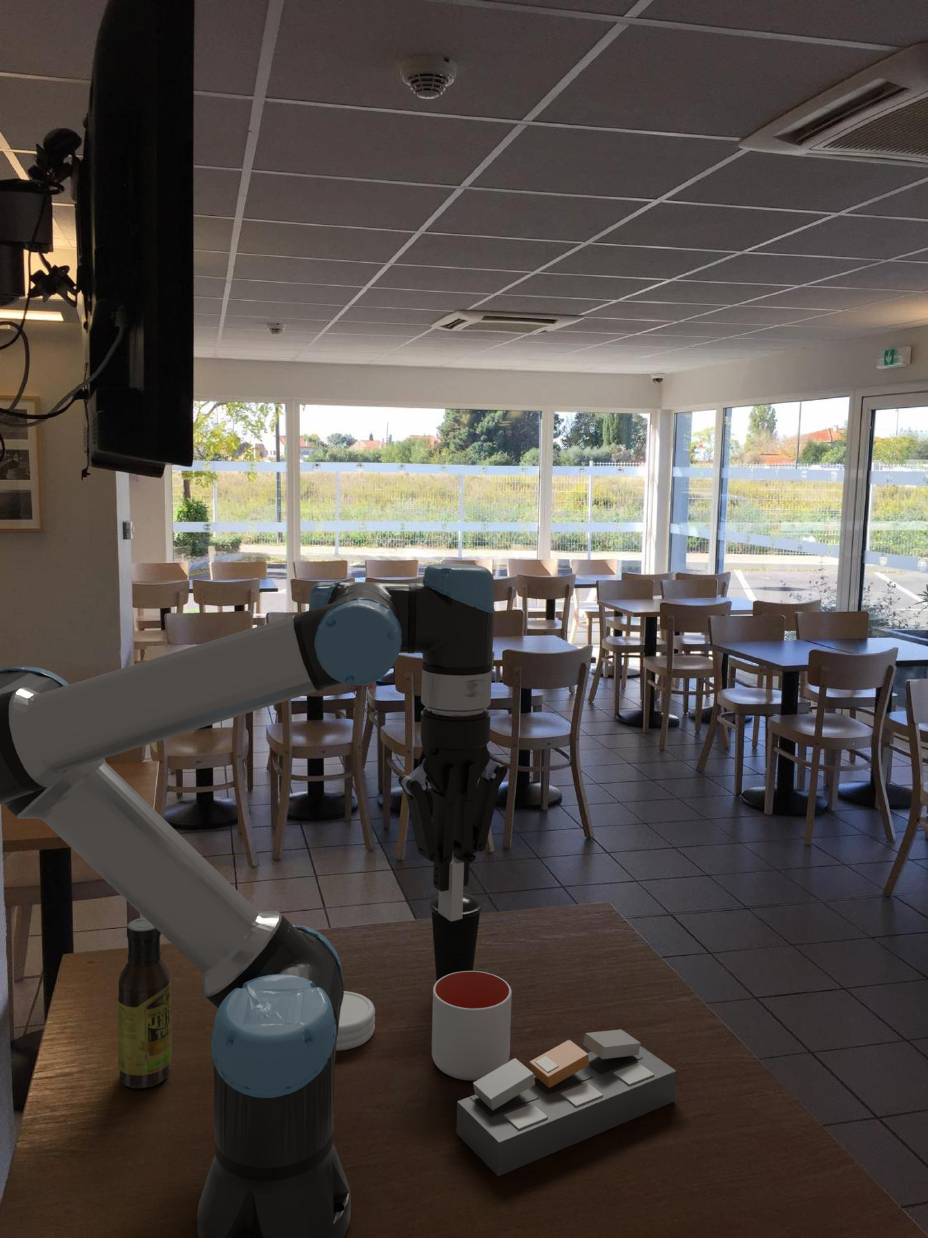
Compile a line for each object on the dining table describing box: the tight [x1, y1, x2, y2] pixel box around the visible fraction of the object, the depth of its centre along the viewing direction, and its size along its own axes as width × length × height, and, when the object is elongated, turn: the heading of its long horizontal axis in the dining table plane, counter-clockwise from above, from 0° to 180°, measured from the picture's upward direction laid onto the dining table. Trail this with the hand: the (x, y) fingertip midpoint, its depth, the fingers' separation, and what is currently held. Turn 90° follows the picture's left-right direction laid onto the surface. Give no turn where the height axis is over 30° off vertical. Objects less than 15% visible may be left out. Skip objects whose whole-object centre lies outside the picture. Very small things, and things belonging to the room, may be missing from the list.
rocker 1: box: [472, 1058, 535, 1110], centre depth 117 cm, size 6×4×2 cm, turn 122°
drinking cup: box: [428, 892, 483, 983], centre depth 147 cm, size 8×8×20 cm
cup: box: [431, 970, 513, 1081], centre depth 131 cm, size 10×10×10 cm
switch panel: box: [456, 1045, 677, 1177], centre depth 120 cm, size 26×8×4 cm, turn 123°
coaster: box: [336, 990, 376, 1052], centre depth 138 cm, size 10×10×4 cm
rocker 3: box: [582, 1029, 642, 1059], centre depth 126 cm, size 6×4×2 cm, turn 123°
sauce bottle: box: [117, 917, 172, 1089], centre depth 125 cm, size 6×6×20 cm
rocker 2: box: [529, 1039, 589, 1088], centre depth 121 cm, size 6×4×2 cm, turn 122°
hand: (450, 915), depth 114 cm, fingers closed
